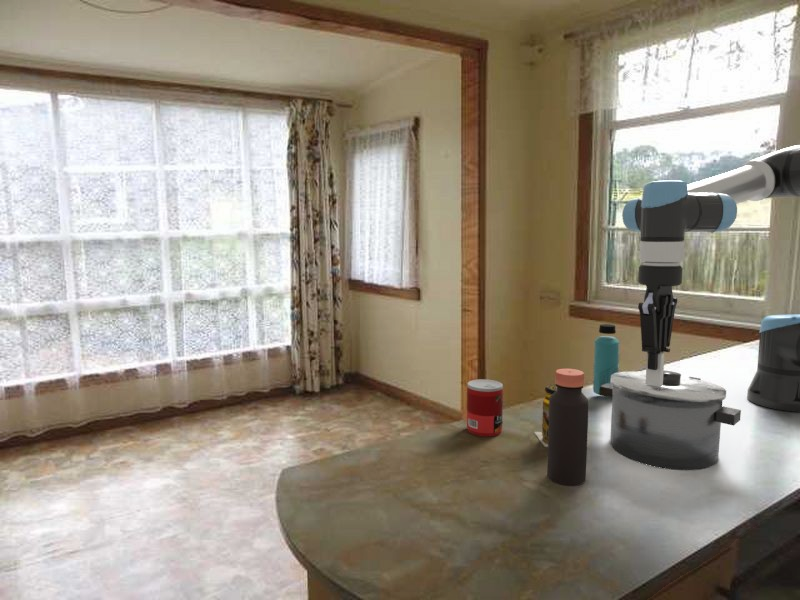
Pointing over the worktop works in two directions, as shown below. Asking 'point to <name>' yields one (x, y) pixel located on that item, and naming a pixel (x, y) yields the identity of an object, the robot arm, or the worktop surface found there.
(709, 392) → the lid
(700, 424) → the pot
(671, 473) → the worktop surface
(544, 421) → the condiment
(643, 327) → the robot arm
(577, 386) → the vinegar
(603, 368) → the beverage bottle
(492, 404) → the canned food
